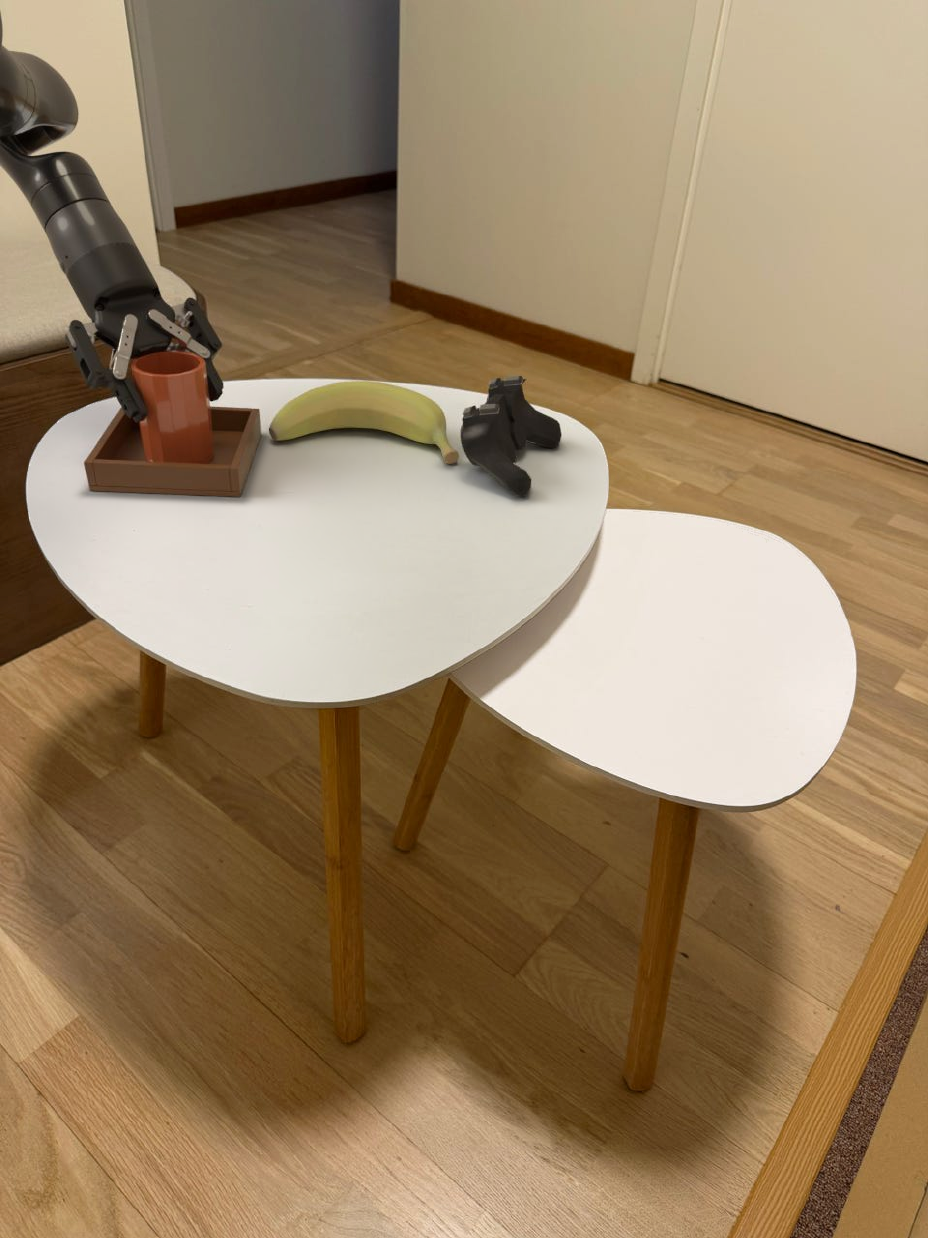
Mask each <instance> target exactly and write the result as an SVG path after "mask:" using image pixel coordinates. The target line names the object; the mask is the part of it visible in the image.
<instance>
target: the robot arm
mask: <svg viewBox="0 0 928 1238" xmlns="http://www.w3.org/2000/svg"><path fill="white" fill-rule="evenodd" d="M3 28H4V27H3V19H2V12H1V11H0V168H1V169H3V171H5V173H6V174H7V175H8V176H9V178H10V179H11V180H12V181H13V182H14V183H15V185H16V186H17V188H18V189H19V190H20V191H21V193H22V194H23V196H24V197H25V199H26V201H27V202H28V204H29V206H30V207H31V209H32V211H33V213H34V215H35V216H36V219H37V220H38V222H39V224H40V226H41V228H42V229H43V232H44V233H45V235H46V237H47V239H48V241H49V244H50V247H51V249H52V252H53V254H54V256H55V259H56V260H57V262H58V265H59V268H60V270H61V271H62V272H63V274H64V275H65V277H66V279H67V281H68V282H69V284H70V286H71V288H72V290H73V292H74V293H75V295H76V298H77V299H78V301H79V303H80V305H81V306H82V308H83V310H84V312H85V314H86V316H87V317H88V318H89V319H90V320H91V322H89V323H83V322H82V321H81V320H78V319H73V320H71V321H70V323H69V326H68V328H67V330H66V333H65V335H64V340H65V341H66V344H67V346H68V348H69V350H70V352H71V354H72V356H73V358H74V360H75V362H76V365H77V367H78V369H79V370H80V373H81V375H82V377H83V379H84V381H85V383H86V385H87V386H88V388H90V389H93V390H96V389H99V388H106V389H109V390H111V391H112V393H113V395H114V396H115V398H116V400H117V401H118V403H119V406H120V408H121V407H122V408H123V411H124V413H125V414H126V415H127V416H128V417H129V418H133V419H134V421H135V422H141V421H144V420H145V418H146V417H147V415H148V411H147V408H146V406H145V404H144V403H143V401H142V399H141V397H140V395H139V393H138V392H137V390H136V388H135V386H134V384H133V381H132V378H127V372H128V368H129V364H130V363H129V362H130V360H133V359H134V358H136V357H140V356H144V355H147V354H149V353H156V352H162V351H165V350H175V351H185V352H190V353H194V354H197V355H199V356H201V357H202V358H203V359H204V361H205V363H206V373H207V382H208V391H209V401H210V402H211V403H212V402H216V401H218V400H219V399H220V398H221V396H222V395H223V393H224V391H223V390H224V388H225V387H224V382H223V379H222V378H221V376H220V374H219V372H218V371H217V369H216V366H215V365H214V363H213V361H212V360H214V358H215V357H216V356H217V354H218V352H219V351H220V350H221V348H222V347H223V343H222V341H221V339H220V338H219V336H218V334H217V332H216V331H215V330H214V328H213V325H212V324H211V323H210V321H209V319H208V318H207V315H206V314H205V312H204V311H203V310H202V308H201V306H200V305H199V303H198V302H197V300H196V299H195V298H193V297H187V298H186V299H185V301H184V302H183V303H180V304H177V305H173V306H171V305H170V304H168V303H167V302H166V300H165V299H164V298H163V296H162V293H161V290H160V288H159V285H158V283H157V281H156V279H155V277H154V275H153V273H152V272H151V269H150V268H149V266H148V264H147V262H146V261H145V259H144V257H143V255H142V253H141V251H140V250H139V248H138V246H137V244H136V242H135V240H134V238H133V236H132V235H131V233H130V230H129V229H128V227H127V225H126V224H125V222H124V220H122V218H121V217H120V216H119V214H118V213H117V211H116V210H115V208H114V207H113V205H112V203H111V201H110V200H109V198H108V196H107V194H106V192H105V190H104V188H103V187H102V185H101V183H100V180H99V178H98V177H97V175H96V173H95V171H94V170H93V168H92V167H91V165H90V163H89V162H88V160H86V159H85V157H83V156H81V155H80V154H78V153H76V152H72V151H53V152H48V153H47V152H46V153H42V154H37V155H34V154H36V153H37V152H39V151H42V150H43V149H45V148H48V147H49V146H51V145H53V144H54V143H57V142H59V141H61V140H63V139H65V138H66V137H68V136H69V135H71V134H72V133H73V132H74V130H75V129H76V127H77V125H78V122H79V115H80V113H79V107H78V102H77V99H76V96H75V95H74V92H73V90H72V88H71V87H70V85H69V84H68V82H67V81H66V79H65V77H63V76H62V75H61V73H60V72H59V71H58V70H57V69H56V68H55V67H54V66H52V65H51V64H50V63H48V62H47V61H45V60H44V59H43V58H41V57H39V56H38V55H35V54H32V53H27V52H23V51H16V50H15V51H14V50H9V49H8V48H6V47H5V46H4V45H3V38H4V36H3V35H4V32H3V31H4V29H3ZM175 320H176V321H178V322H179V324H180V326H181V327H180V326H179V325H177V324H175V323H176V321H175ZM183 328H186V330H187V331H186V330H185V329H183ZM95 338H96V339H97V340H98V341H101V342H102V343H103V344H105V345H107V346H108V347H110V348H111V349H112V351H111V357H110V360H109V368H105V367H104V364H103V363H102V361H101V359H100V357H99V355H98V353H97V350H96V348H95V346H94V344H95V340H96V339H95ZM173 339H174V340H175V341H176V342H177V343H175V342H172V341H173Z"/></svg>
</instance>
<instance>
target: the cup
mask: <svg viewBox="0 0 928 1238" xmlns="http://www.w3.org/2000/svg"><path fill="white" fill-rule="evenodd" d="M129 368H130V375H131V381H132V382H133V384H134V386H135V388H136V390H137V392H138V393H139V395H140V397H141V399H142V401H143V403H144V404H145V406H146V408H147V411H148V415H147V417H146V418H145V420H144V421H141V422H139V426H140V432H141V438H142V445H143V451H144V454H145V459H146V461H147V462H169V463H191V464H207V463H209V462H210V461H211V460H212V459H213V457H214V439H213V429H212V420H211V410H210V406H211V403H210V402H211V401H209V391H208V382H207V373H206V363H205V361H204V359H203V358H202V357H201V356H199V355H197V354H194V353H190V352H185V351H175V350H165V351H162V352H156V353H149V354H147V355H144V356H140V357H136V358H134V359H131V361H130V363H129Z"/></svg>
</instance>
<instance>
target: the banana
mask: <svg viewBox="0 0 928 1238" xmlns="http://www.w3.org/2000/svg"><path fill="white" fill-rule="evenodd" d="M345 428H347V429H348V428H356V429H357V428H358V429H359V428H360V429H374V430H378V431H384V432H389V433H392V434H395V435H397V436H401V437H404V438H406V439H408V440H411V441H414V442H418V443H420V444H421V443H423V444H430V445H436V446H437V447H438V448H439V449H440V451H441V454H442V458H443V461H444V463H445V464H450V465H452V464H455V463H457V462H459V459H460V455H459V452H458V451H457V450H456V449H454V448H453V447H452V446H451V444H450V443H449V440H448V435H447V418H446V414H445V413H444V411H443V409H442V408H441V407H440V405H439V404H438V403H436V401H434V400H433V399H431V398H430V397H429V396H427V395H425V394H422V393H420V392H417V391H415V390H414V389H413V390H412V389H409V388H407V387H403V386H399V385H395V384H391V383H387V382H379V381H370V380H369V381H368V380H353V381H351V380H350V381H340V382H334V383H333V382H332V383H329V384H328V383H327V384H325V385H321V386H317V387H314V388H311V389H310V390H307V391H305V392H303V393H301V394H300V395H298V396H296V397H295V398H293V399H291V400H290V401H289V402H287V403H285V405H284V406H283V407H281V409H280V410H279V411H278V412H277V413H276V414H275V416H274V417H273V418H272V420H271V422H270V424H269V427H268V434H269V436H270V438H271V439H272V440H273V441H287V440H292V439H293V440H294V439H296V438H299V437H303V436H306V435H309V434H313V433H318V432H322V431H327V430H333V429H335V430H336V429H345Z"/></svg>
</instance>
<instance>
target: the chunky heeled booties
mask: <svg viewBox="0 0 928 1238" xmlns="http://www.w3.org/2000/svg"><path fill="white" fill-rule="evenodd" d="M526 380H527V378H524V377H523V376H522V375H511V376H510V375H508V376H505V377H504V380H502V379H501V377H498V378H494V379H490V380H489V383H488V390H487V391H488V395H487V397H486V401H485V403H483V404H480V405H479V407H478V408H477V406H476V405H471V406H468V407H465V408H463V412H462V419H461V421H462V424H461V427H460V443H461V446H462V450H463V453H464V454H465V458H466V459H467V460H468V462H469V463H470V464H471V465H473V466H475V467H478V468H479V469H481V470H482V471H483V472H484V473H485V474H487V475H488V476H489V477H491V478H492V479H493V480H495V481H496V482H497V483H499V484H500V486H503V487H504V488H505V489H506V490H508V491H509V492H510V493H512V494H514V495H516V496H517V497H519V498H522V497H523V498H524V497H526V496H527V495H528V494H529V492H530V490H531V489H532V478H531V477H530V475H529V473H528V472H527V471H526V470H525V469H523V468H522V467H520V466H518V465H517V464H515V463H516V461H517V451H520V450H523V449H526V448H527V444H528V443H532V444H535V445H538V446H541V447H545V448H548V449H555V448H557V447H559V444H560V443H561V440H562V429H561V425H560V423H559V421H558V420H557V419H555V418H554V417H552V416H549V415H547V414H545V413H543V412H540V411H538V410H536V409H535V408H534V407H533V406H532V405H531V404H530V403H529V402H528V400H526V398H525V394H524V389H523V384H524V383H525V382H526Z"/></svg>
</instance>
